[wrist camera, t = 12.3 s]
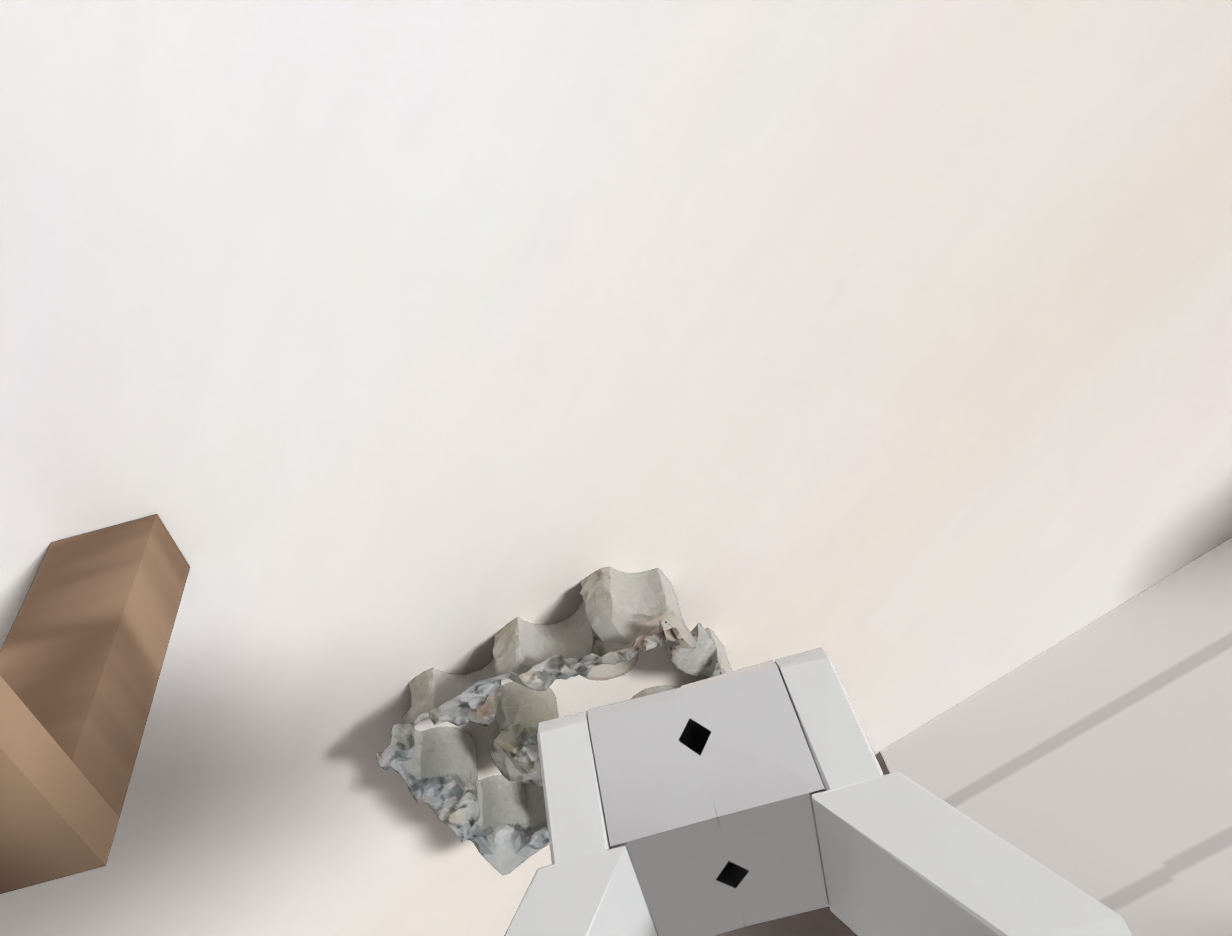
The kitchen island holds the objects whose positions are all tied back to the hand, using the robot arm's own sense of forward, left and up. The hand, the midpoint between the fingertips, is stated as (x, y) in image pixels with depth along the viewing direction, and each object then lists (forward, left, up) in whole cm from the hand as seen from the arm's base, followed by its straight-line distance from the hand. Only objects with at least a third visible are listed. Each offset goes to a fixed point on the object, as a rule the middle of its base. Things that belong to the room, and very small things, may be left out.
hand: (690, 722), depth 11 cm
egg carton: (+17, -3, -18) cm, 25 cm away
